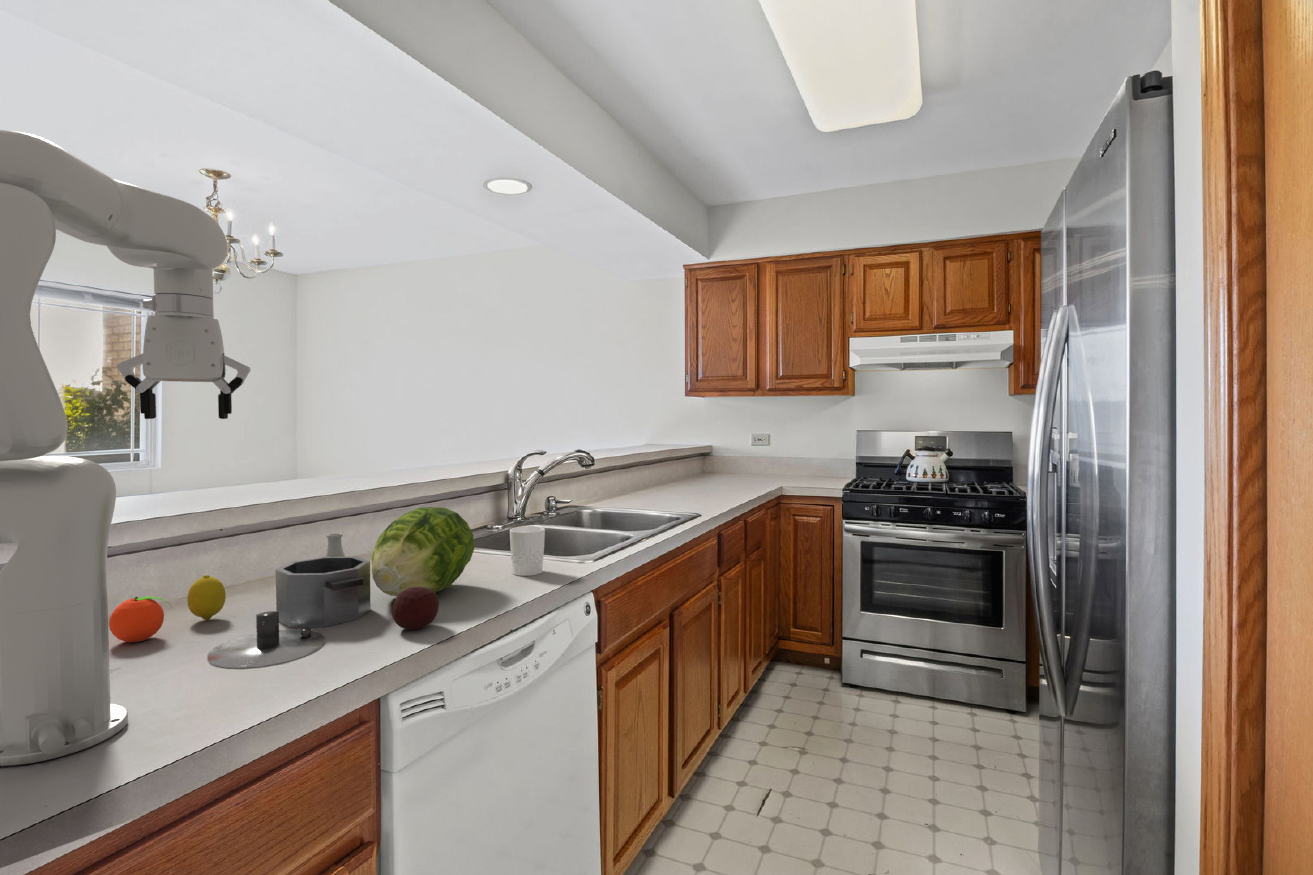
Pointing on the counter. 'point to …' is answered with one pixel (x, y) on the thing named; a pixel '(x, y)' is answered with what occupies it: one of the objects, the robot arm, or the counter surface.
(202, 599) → the lemon
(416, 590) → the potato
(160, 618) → the clementine
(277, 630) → the lid
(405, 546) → the lettuce
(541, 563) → the white cup
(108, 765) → the counter surface
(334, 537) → the grey flared column
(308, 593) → the pot
